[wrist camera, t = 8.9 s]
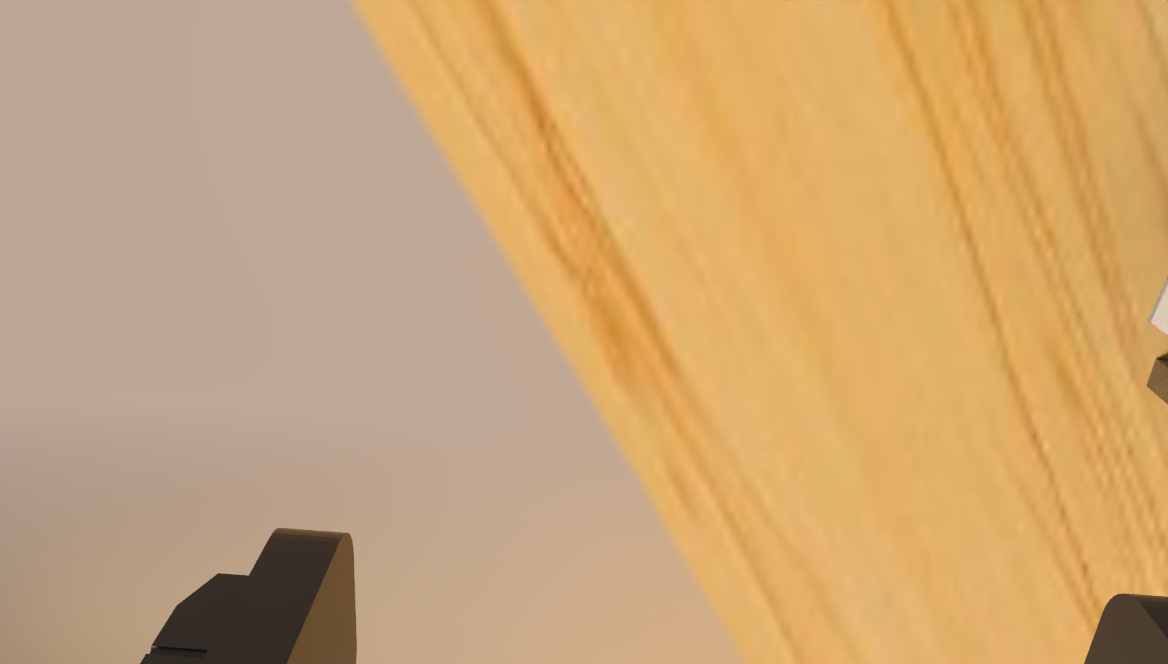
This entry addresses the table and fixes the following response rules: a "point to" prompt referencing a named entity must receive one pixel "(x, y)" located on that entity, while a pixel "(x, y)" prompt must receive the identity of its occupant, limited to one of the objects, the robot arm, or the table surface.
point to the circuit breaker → (1161, 310)
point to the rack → (1159, 379)
